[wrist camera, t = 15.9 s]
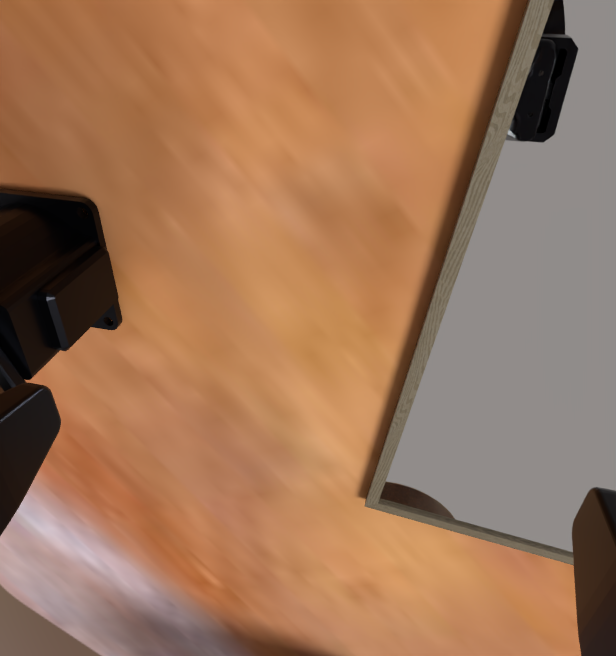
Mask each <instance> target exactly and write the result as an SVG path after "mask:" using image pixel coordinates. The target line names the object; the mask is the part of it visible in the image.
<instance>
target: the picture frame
mask: <svg viewBox="0 0 616 656" xmlns="http://www.w3.org/2000/svg"><path fill="white" fill-rule="evenodd" d="M593 487H600V488H605V489H611V490H616V0H528V2H527V5H526V8H525V11H524V14H523V17H522V20H521V23H520V27H519V30H518V33H517V36H516V39H515V42H514V45H513V48H512V51H511V54H510V57H509V60H508V63H507V67H506V70H505V73H504V76H503V79H502V82H501V85H500V88H499V91H498V94H497V97H496V100H495V103H494V107H493V110H492V113H491V116H490V119H489V122H488V125H487V128H486V131H485V134H484V137H483V140H482V143H481V147H480V150H479V153H478V156H477V159H476V162H475V165H474V168H473V171H472V174H471V177H470V180H469V183H468V187H467V190H466V193H465V196H464V199H463V202H462V205H461V208H460V211H459V214H458V217H457V220H456V223H455V227H454V230H453V233H452V236H451V239H450V242H449V245H448V248H447V251H446V254H445V257H444V260H443V263H442V267H441V270H440V273H439V276H438V279H437V282H436V285H435V288H434V291H433V294H432V297H431V300H430V303H429V307H428V310H427V313H426V316H425V319H424V322H423V325H422V328H421V331H420V334H419V337H418V340H417V343H416V347H415V350H414V353H413V356H412V359H411V362H410V365H409V368H408V371H407V374H406V377H405V380H404V383H403V387H402V390H401V393H400V396H399V399H398V402H397V405H396V408H395V411H394V414H393V417H392V420H391V423H390V427H389V430H388V433H387V436H386V439H385V442H384V445H383V448H382V451H381V454H380V457H379V460H378V463H377V467H376V470H375V473H374V476H373V479H372V482H371V485H370V488H369V491H368V494H367V497H366V502H365V507H369V508H372V509H376V510H379V511H383V512H386V513H390V514H394V515H397V516H401V517H404V518H408V519H411V520H415V521H418V522H422V523H425V524H429V525H433V526H436V527H440V528H443V529H447V530H450V531H454V532H457V533H461V534H465V535H468V536H472V537H475V538H479V539H482V540H486V541H489V542H493V543H497V544H500V545H504V546H507V547H511V548H514V549H518V550H521V551H525V552H529V553H532V554H536V555H539V556H543V557H546V558H550V559H553V560H557V561H561V562H564V563H568V564H571V565H574V562H573V546H572V525H573V521H574V518H575V516H576V514H577V512H578V510H579V509H580V507H581V505H582V503H583V501H584V499H585V497H586V495H587V493H588V492H589V490H590V489H591V488H593Z"/></svg>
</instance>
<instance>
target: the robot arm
mask: <svg viewBox="0 0 616 656" xmlns="http://www.w3.org/2000/svg"><path fill="white" fill-rule="evenodd" d="M82 208H84V209H85V210H86V211H87V213H88V215H87V214H85V213H84V212H83V210H82ZM109 318H111V319H112V321H111V320H110V319H109ZM121 323H122V315H121V311H120V306H119V302H118V293H117V289H116V284H115V280H114V275H113V270H112V266H111V261H110V257H109V253H108V251H107V248H106V243H105V239H104V234H103V230H102V225H101V221H100V216H99V212H98V209H97V206H96V205H95V204H94V203H93V202H92V201H91V200H89V199H86V198H79V197H70V196H61V195H52V194H43V193H35V192H26V191H17V190H8V189H0V536H1V534H2V533H3V531H4V530H5V528H6V527H7V525H8V524H9V522H10V521H11V519H12V517H13V516H14V514H15V513H16V511H17V509H18V508H19V506H20V504H21V502H22V501H23V499H24V497H25V495H26V493H27V492H28V490H29V488H30V486H31V484H32V482H33V480H34V478H35V476H36V474H37V472H38V471H39V469H40V467H41V465H42V463H43V461H44V459H45V457H46V455H47V453H48V452H49V450H50V448H51V446H52V444H53V442H54V440H55V438H56V436H57V434H58V432H59V429H60V425H61V419H60V415H59V412H58V409H57V407H56V404H55V401H54V398H53V395H52V392H51V390H50V389H49V388H48V387H47V386H44V385H39V384H33V383H26V381H25V380H24V379H26V380H30V379H31V378H32V377H33V376H34V375H35V374H36V373H37V372H38V371H39V370H40V369H41V368H43V367H44V366H45V365H46V364H47V363H48V362H49V361H50V360H51V359H52V358H53V357H54V356H55V355H56V354H57V353H58V352H59V351H60V350H61V351H67V350H68V349H69V348H70V347H71V346H72V345H73V344H74V343H75V342H76V341H77V340H78V339H79V338H80V337H81V336H82V335H83V334H84V333H85V332H86V331H87V330H88V329H89V328H90V327H95V328H101V329H107V330H115V329H117V328H118V326H119V325H120V324H121ZM572 546H573V562H574V578H575V593H576V609H577V624H578V635H579V642H580V649H581V656H616V490H611V489H605V488H600V487H593V488H591V489H590V490H589V492H588V493H587V495H586V497H585V499H584V501H583V503H582V505H581V507H580V509H579V510H578V512H577V514H576V516H575V518H574V521H573V525H572Z"/></svg>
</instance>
